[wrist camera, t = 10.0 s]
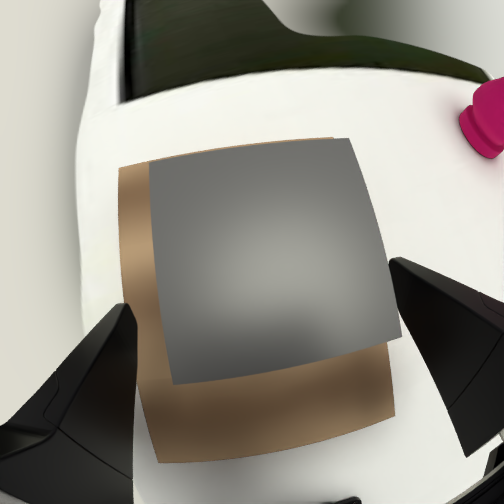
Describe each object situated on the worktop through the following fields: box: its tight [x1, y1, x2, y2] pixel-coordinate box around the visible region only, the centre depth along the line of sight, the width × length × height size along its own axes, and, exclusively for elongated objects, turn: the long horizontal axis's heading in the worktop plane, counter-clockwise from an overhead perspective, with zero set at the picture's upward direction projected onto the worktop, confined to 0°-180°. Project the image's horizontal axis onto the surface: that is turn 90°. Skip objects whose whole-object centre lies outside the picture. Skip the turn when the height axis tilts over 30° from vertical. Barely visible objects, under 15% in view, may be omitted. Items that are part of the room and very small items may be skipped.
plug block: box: [149, 138, 402, 385], centre depth 12 cm, size 4×4×13 cm
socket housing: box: [118, 137, 395, 463], centre depth 17 cm, size 18×14×3 cm
